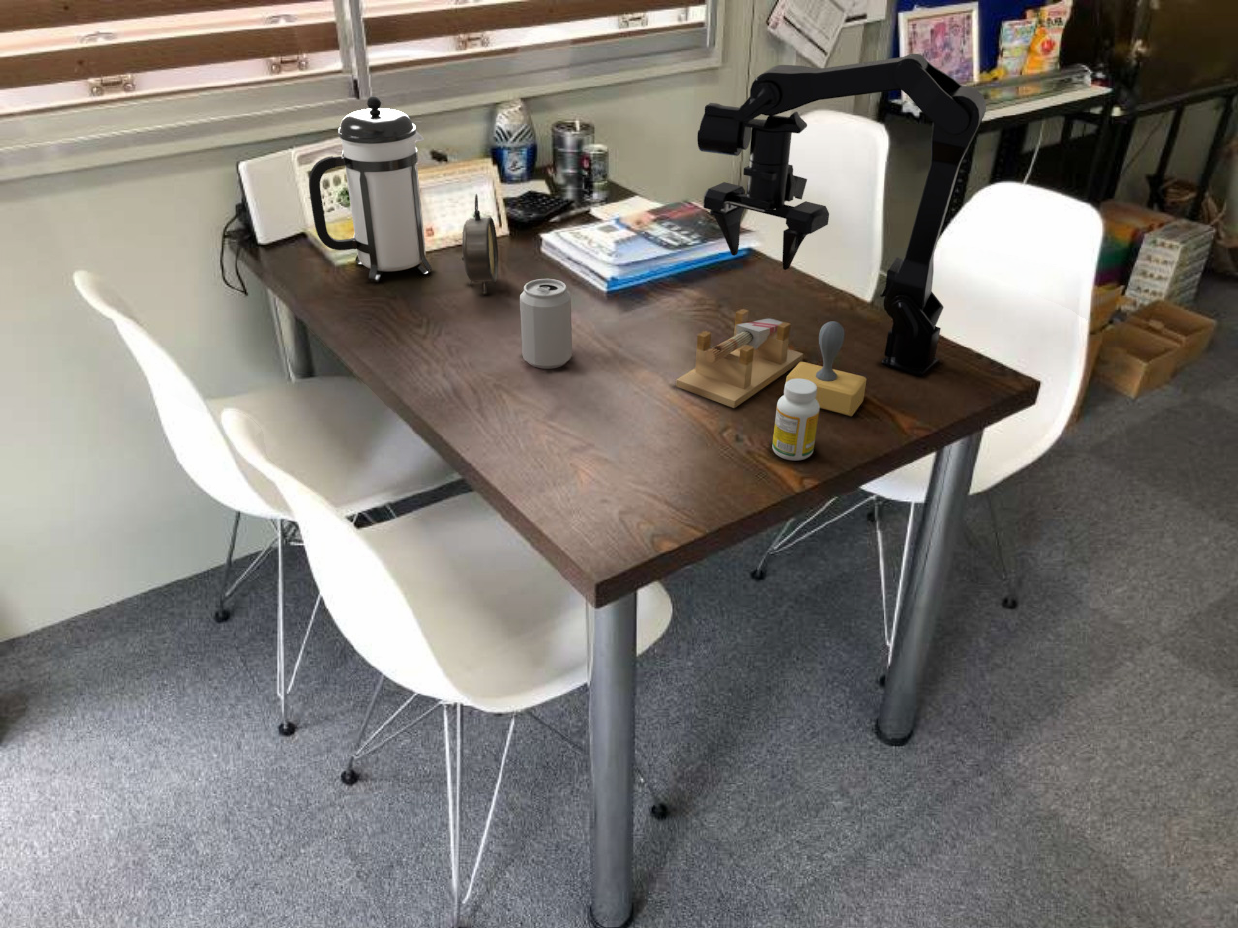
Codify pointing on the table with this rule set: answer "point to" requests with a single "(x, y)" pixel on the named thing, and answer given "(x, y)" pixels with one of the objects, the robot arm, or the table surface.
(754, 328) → the paintbrush
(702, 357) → the brush rack
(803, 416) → the supplement bottle
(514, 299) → the table surface
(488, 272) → the alarm clock
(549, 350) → the can
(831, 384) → the rubber stamp
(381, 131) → the coffee press
